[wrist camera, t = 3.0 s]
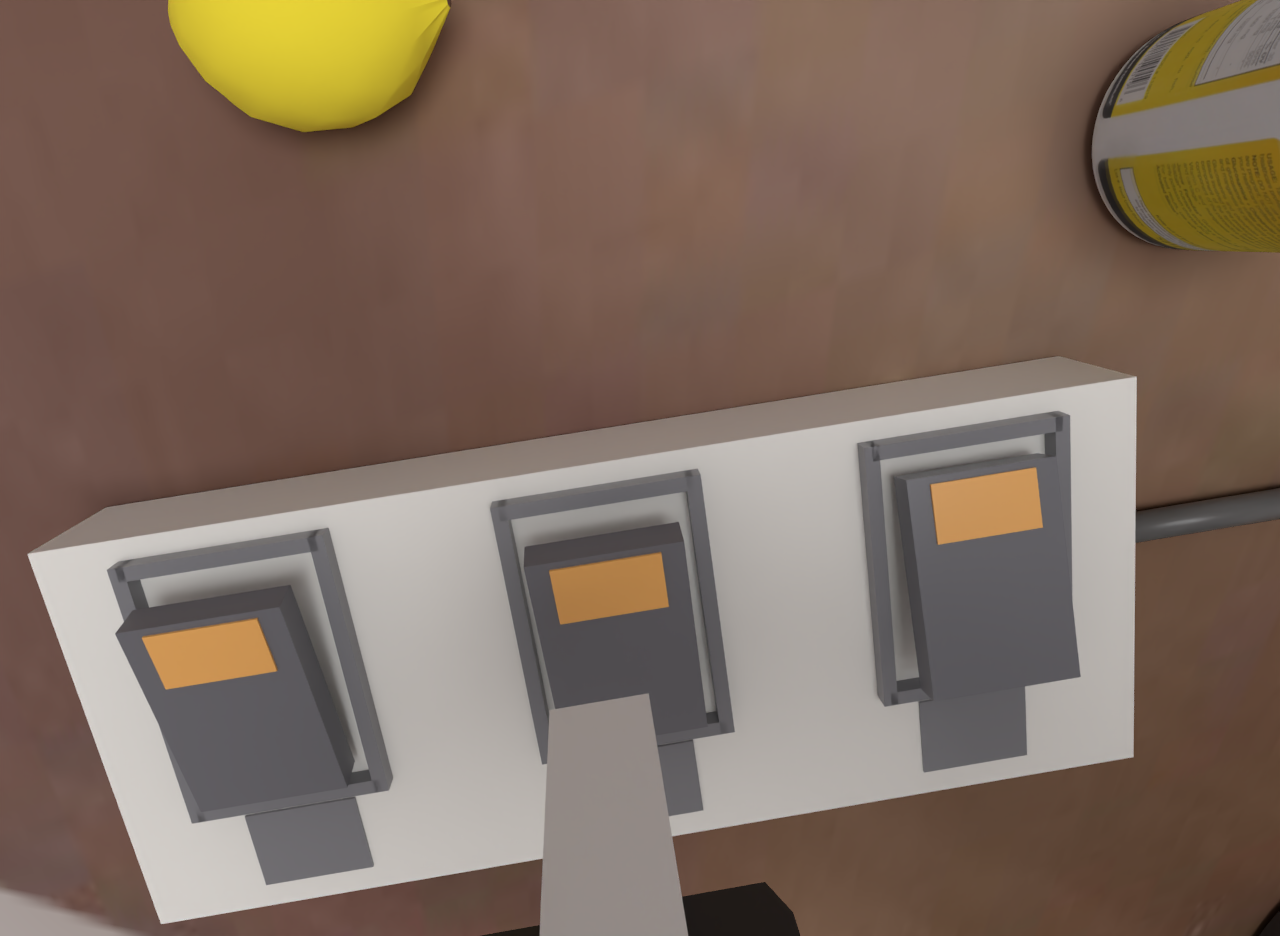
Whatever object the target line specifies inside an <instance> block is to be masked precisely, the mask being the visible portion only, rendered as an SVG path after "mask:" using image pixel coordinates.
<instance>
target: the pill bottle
mask: <svg viewBox="0 0 1280 936" xmlns="http://www.w3.org/2000/svg"><path fill="white" fill-rule="evenodd" d="M1092 164H1093V171H1094V176H1095V181H1096V184H1097V187H1098V190H1099V193H1100V195H1101V197H1102V199H1103V201H1104V203H1105V205H1106V207H1107V208H1108V210H1109V211H1110V213H1111V214H1112V215H1113V217H1114V218H1115V219H1116V220H1117V221H1118V222H1119V223H1120V224H1121V225H1122V226H1123V227H1124V228H1125V229H1126V230H1128V231H1129V232H1130V233H1132V234H1133V235H1135V236H1136V237H1138V238H1140V239H1142V240H1144V241H1146V242H1148V243H1151V244H1154V245H1158V246H1161V247H1165V248H1171V249H1180V250H1200V251H1244V252H1280V0H1241V1H1238V2H1235V3H1233V4H1230V5H1227V6H1224V7H1221V8H1218V9H1216V10H1213V11H1210V12H1207V13H1204V14H1201V15H1199V16H1196V17H1193V18H1191V19H1188V20H1185V21H1183V22H1181V23H1178V24H1176V25H1174V26H1172V27H1170V28H1168V29H1167V30H1165V31H1163V32H1161V33H1160V34H1158V35H1157V36H1155V37H1154V38H1153V39H1151V40H1150V41H1148V42H1147V43H1146V44H1144V45H1143V46H1142V47H1141V48H1140V49H1139V50H1138V51H1137V52H1136V53H1135V54H1134V55H1133V56H1132V57H1131V58H1130V59H1129V60H1128V61H1127V63H1126V64H1125V65H1124V66H1123V67H1122V69H1121V70H1120V71H1119V73H1118V74H1117V76H1116V77H1115V79H1114V80H1113V82H1112V83H1111V85H1110V87H1109V88H1108V90H1107V92H1106V94H1105V97H1104V99H1103V101H1102V104H1101V106H1100V109H1099V112H1098V115H1097V119H1096V123H1095V127H1094V133H1093V141H1092Z"/></svg>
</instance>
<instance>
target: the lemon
mask: <svg viewBox="0 0 1280 936" xmlns="http://www.w3.org/2000/svg"><path fill="white" fill-rule="evenodd" d="M450 7H451V0H168V14H169V19H170V24H171V27H172V30H173V32H174V34H175V37H176V39H177V41H178V43H179V46H180V47H181V48H182V50H183V51H184V52H185V54H186V55H187V57H188V58H189V59H190V61H191V62H192V63H193V65H194V66H195V67H196V69H197V70H198V72H199V73H200V74H201V76H202V77H203V78H204V80H205V81H206V82H207V83H209V84H210V85H211V86H212V87H214V88H215V89H216V90H217V91H219V92H220V93H221V94H222V95H224V96H225V97H226V98H227V99H228V100H229V101H230V102H231V103H232V104H234V105H235V106H237V107H238V108H239V109H241V110H242V111H243V112H245V113H246V114H248V115H249V116H250V117H253V118H256V119H260V120H263V121H267V122H270V123H274V124H277V125H280V126H284V127H287V128H291V129H294V130H298V131H301V132H310V131H320V130H331V129H341V128H352V127H355V126H357V125H360V124H362V123H364V122H367V121H369V120H371V119H374V118H376V117H377V116H379V115H381V114H382V113H384V112H385V111H387V110H388V109H390V108H391V107H393V106H394V105H396V104H398V103H399V102H401V101H402V100H404V99H405V98H407V97H408V96H410V95H411V94H412V92H413V90H414V88H415V86H416V84H417V82H418V80H419V78H420V76H421V74H422V72H423V70H424V68H425V66H426V64H427V62H428V60H429V58H430V56H431V53H432V51H433V48H434V46H435V44H436V41H437V39H438V36H439V34H440V32H441V29H442V27H443V24H444V22H445V19H446V17H447V15H448V12H449V10H450Z"/></svg>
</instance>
